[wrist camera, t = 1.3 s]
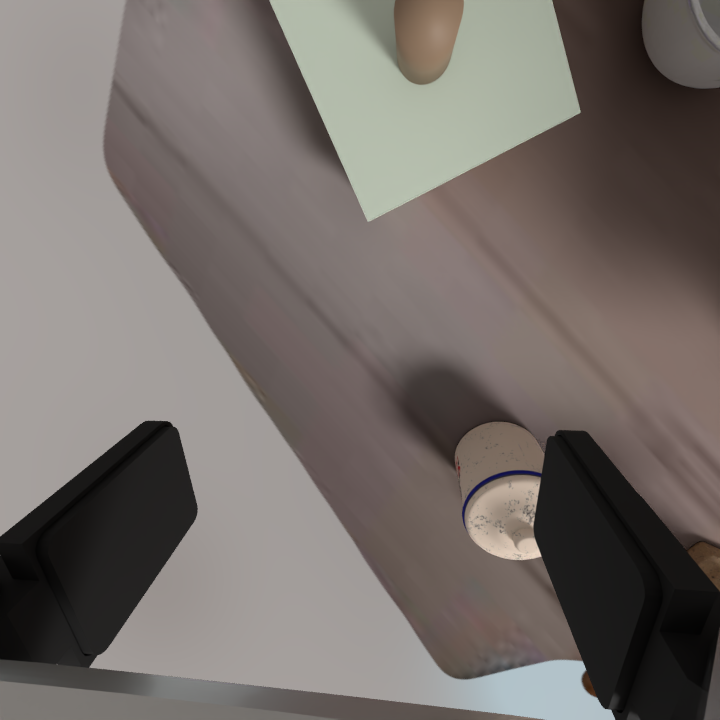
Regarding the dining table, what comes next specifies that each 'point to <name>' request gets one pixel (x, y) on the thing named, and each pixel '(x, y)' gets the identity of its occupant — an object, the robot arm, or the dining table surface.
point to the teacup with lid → (500, 488)
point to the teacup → (684, 40)
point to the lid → (427, 85)
